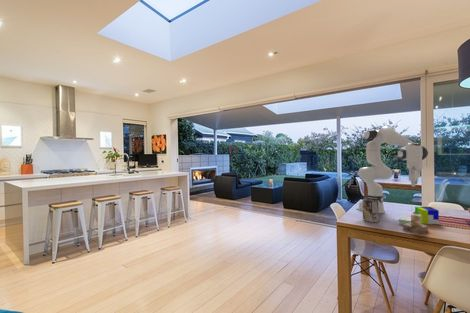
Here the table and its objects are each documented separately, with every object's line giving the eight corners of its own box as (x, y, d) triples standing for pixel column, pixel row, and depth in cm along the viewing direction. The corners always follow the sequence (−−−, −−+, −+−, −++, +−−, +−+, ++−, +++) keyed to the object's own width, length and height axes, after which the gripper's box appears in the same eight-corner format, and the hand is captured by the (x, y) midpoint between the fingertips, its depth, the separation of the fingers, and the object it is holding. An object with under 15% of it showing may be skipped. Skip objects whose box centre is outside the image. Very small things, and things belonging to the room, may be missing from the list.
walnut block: (402, 230, 160) (402, 224, 160) (411, 227, 165) (411, 221, 164) (419, 234, 151) (419, 228, 151) (427, 232, 156) (427, 226, 155)
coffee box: (379, 222, 177) (378, 201, 177) (372, 223, 175) (372, 201, 175) (368, 218, 186) (368, 198, 186) (362, 219, 184) (362, 199, 184)
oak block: (410, 225, 158) (410, 215, 157) (411, 223, 161) (411, 213, 161) (420, 226, 154) (420, 216, 154) (420, 224, 158) (420, 214, 158)
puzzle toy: (438, 224, 168) (438, 210, 168) (422, 223, 170) (422, 210, 170) (430, 219, 178) (429, 206, 178) (415, 219, 180) (415, 206, 180)
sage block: (399, 224, 172) (398, 219, 171) (404, 221, 177) (404, 216, 177) (415, 228, 163) (415, 222, 163) (420, 224, 169) (420, 219, 169)
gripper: (417, 167, 155) (417, 188, 155) (422, 164, 169) (422, 183, 170) (406, 167, 159) (406, 187, 160) (411, 164, 173) (411, 182, 174)
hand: (414, 185), depth 165 cm, fingers open, 8 cm apart
